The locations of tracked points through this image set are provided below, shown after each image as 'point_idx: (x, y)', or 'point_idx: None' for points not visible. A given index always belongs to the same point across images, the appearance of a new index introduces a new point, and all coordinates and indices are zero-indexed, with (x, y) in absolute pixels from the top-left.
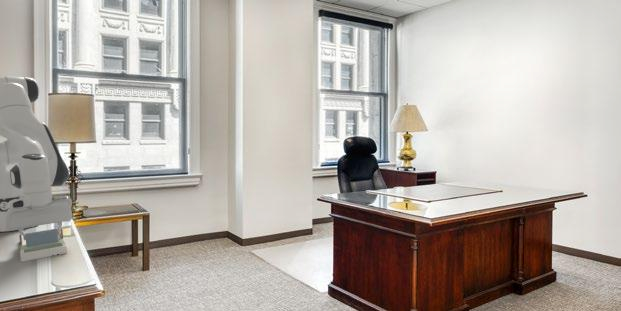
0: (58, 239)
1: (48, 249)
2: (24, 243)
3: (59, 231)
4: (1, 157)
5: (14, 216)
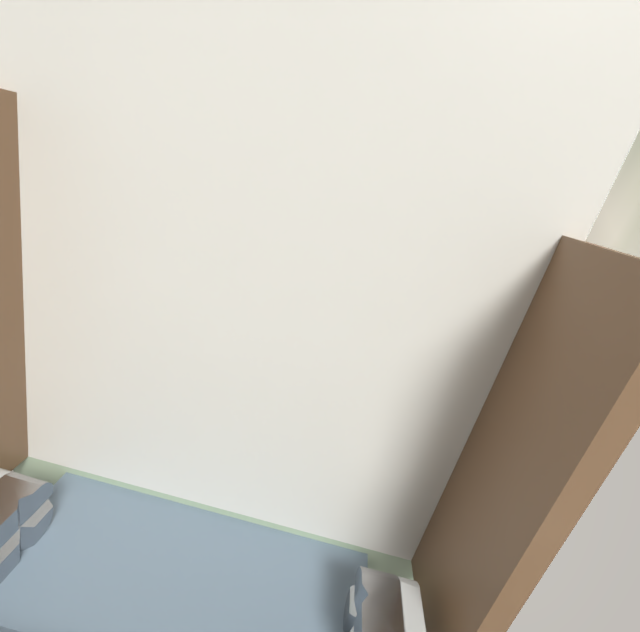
0: (370, 568)
1: None
2: (49, 395)
3: (571, 263)
4: None
5: None
